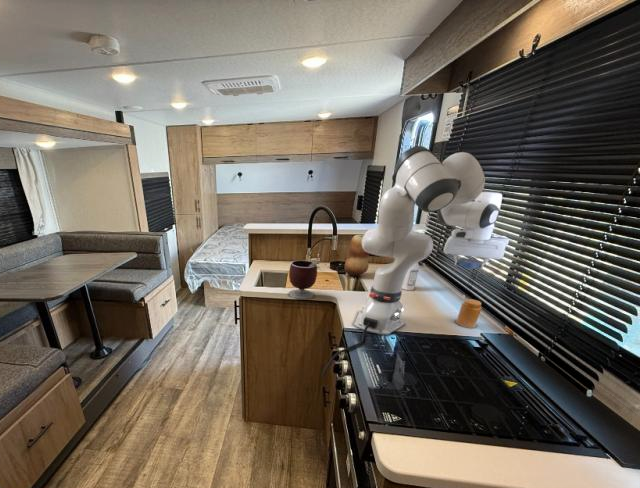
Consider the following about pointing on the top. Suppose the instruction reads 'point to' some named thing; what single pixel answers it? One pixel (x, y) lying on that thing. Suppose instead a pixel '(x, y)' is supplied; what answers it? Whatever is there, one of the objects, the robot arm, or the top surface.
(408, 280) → the bath foam
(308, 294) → the mate gourd
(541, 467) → the top surface
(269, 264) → the top surface
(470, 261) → the jam lid
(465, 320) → the jam jar
